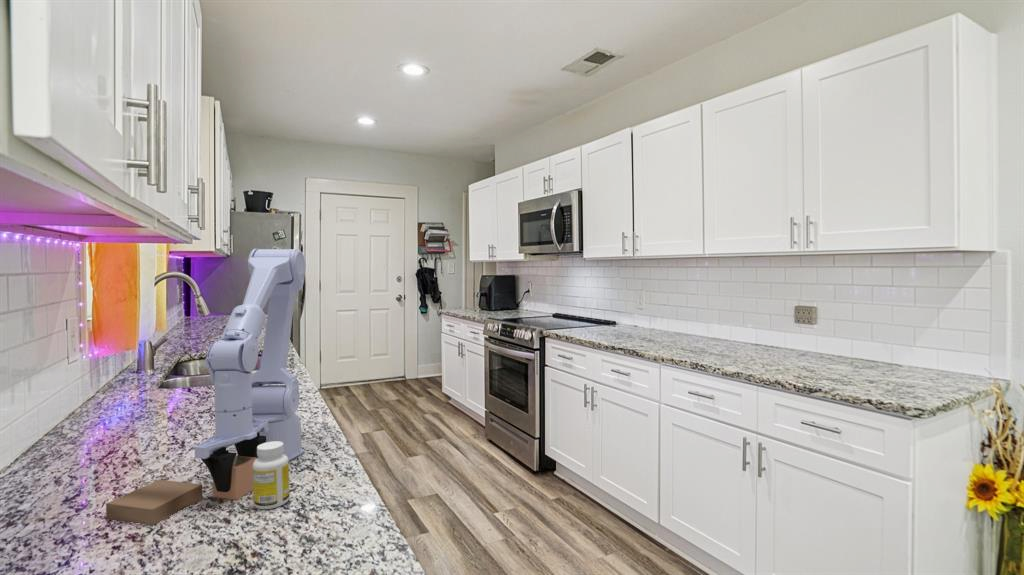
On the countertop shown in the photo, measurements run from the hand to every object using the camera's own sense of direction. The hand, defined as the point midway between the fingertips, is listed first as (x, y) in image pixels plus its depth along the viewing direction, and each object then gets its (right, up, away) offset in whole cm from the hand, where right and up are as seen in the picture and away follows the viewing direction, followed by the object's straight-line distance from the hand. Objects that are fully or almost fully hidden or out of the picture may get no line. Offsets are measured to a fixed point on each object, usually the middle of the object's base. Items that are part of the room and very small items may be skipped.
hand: (235, 484), depth 86 cm
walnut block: (-10, -2, -6) cm, 11 cm away
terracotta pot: (0, -1, 0) cm, 1 cm away
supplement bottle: (+8, -2, -4) cm, 9 cm away
